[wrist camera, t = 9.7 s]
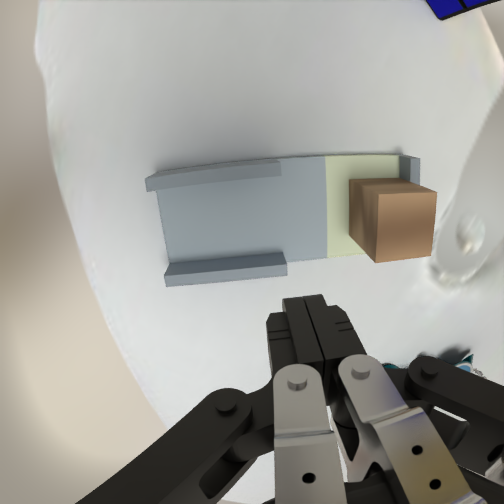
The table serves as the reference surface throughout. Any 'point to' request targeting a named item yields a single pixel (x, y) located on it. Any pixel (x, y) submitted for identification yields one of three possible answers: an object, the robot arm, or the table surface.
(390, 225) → the block
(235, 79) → the table surface
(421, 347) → the table surface
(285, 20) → the table surface
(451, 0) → the puzzle cube
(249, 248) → the chute
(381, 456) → the robot arm
